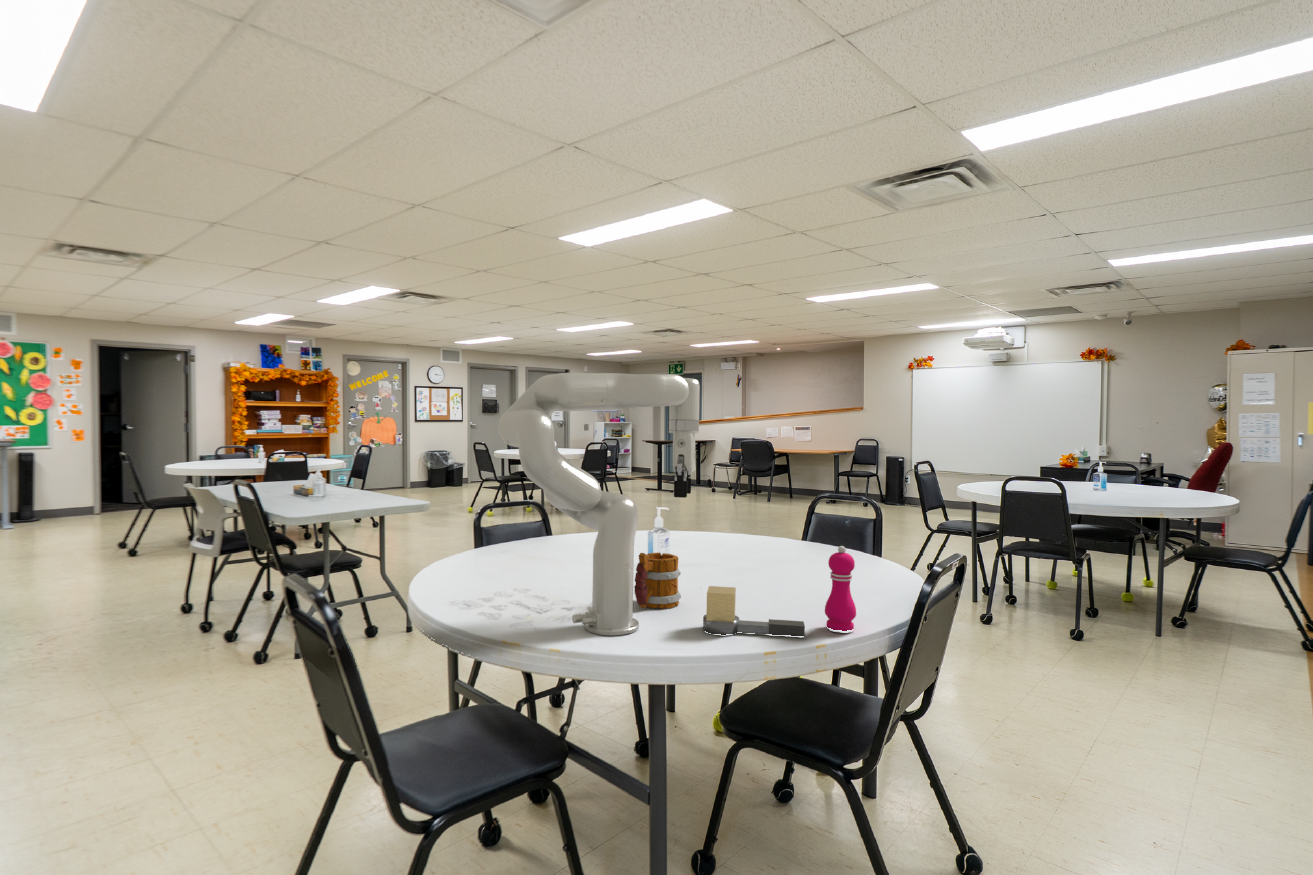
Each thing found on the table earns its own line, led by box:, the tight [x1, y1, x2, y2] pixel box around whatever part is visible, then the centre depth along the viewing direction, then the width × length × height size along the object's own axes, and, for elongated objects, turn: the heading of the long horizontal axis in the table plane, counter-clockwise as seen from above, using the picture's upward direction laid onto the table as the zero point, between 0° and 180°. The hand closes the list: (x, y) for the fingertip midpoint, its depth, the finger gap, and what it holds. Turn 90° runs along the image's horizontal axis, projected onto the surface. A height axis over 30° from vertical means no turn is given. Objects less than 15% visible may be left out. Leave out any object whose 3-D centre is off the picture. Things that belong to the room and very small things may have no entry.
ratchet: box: [702, 613, 806, 637], centre depth 150 cm, size 23×8×8 cm, turn 81°
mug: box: [633, 552, 682, 610], centre depth 171 cm, size 11×16×15 cm, turn 146°
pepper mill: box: [824, 545, 857, 631], centre depth 154 cm, size 7×7×20 cm
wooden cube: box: [705, 585, 737, 623], centre depth 152 cm, size 6×6×6 cm
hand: (682, 495), depth 163 cm, fingers open, 9 cm apart
